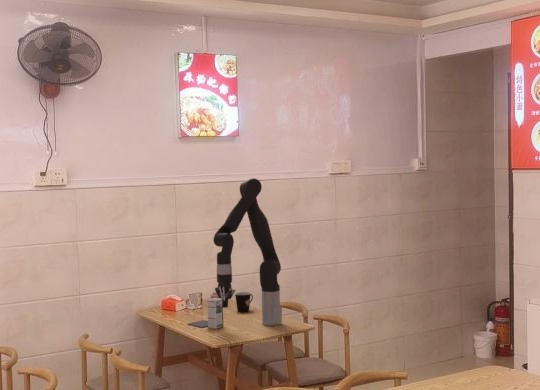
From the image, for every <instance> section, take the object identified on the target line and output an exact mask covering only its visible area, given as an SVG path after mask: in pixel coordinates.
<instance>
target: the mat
mask: <svg viewBox="0 0 540 390" xmlns="http://www.w3.org/2000/svg"><path fill="white" fill-rule="evenodd" d="M187 326H192V327H196V328H201V329H204V328H207V327H208V320H207V319H206V320H205V319H203V320H198V321H192V322H189V323H187ZM208 328H209V327H208Z"/></svg>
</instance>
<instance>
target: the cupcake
mask: <svg viewBox="0 0 540 390" xmlns="http://www.w3.org/2000/svg"><path fill="white" fill-rule="evenodd" d="M220 296H221V295H220ZM212 298H219V297H218V295H217V293H216V291H215V290H214V291H213V292H212V293H211V295H210V297H209V299H212Z"/></svg>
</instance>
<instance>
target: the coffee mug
mask: <svg viewBox="0 0 540 390" xmlns="http://www.w3.org/2000/svg"><path fill="white" fill-rule="evenodd" d="M234 294H235V295H234V296H235V303H236V309H237V312H238V313H242V314H243V313H249V312H250V307H251V306H250V304H251V302H252V301H253V299H254V297H253V294H251V292H248V291H247V292H246V291H245V292H244V291H243V292H241V291H240V292H236V293H234Z"/></svg>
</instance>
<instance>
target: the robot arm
mask: <svg viewBox="0 0 540 390" xmlns="http://www.w3.org/2000/svg"><path fill="white" fill-rule="evenodd" d="M262 188H263V187H262V182H261V181H260V180H259V179H257V178H248V179H247V180H244V181H242V182H241V183H240V185H239V193H240V196H241V197H240V199H239V200H238V202H237V203H236V204H235V206H234V207H233V208H232V209H231V211H230V212H229V213H228V216H227V217H226V220H225V221H224V224H222V225H221V226H220V227H219V229H218V230H217V231H216V232H215V234H214V236H213V244H214V245H215V246H217V247H221V251H219V252H217V254H216V283H217V287H215V288H214V292H215V291H216V293H217V295H218V297H219V298H221V300H222V306H223V309H224V308H225V309H226V308H228V307H229V300H230V299H232V298H233V295H234V294H235V292H236V289H233V287H232V282H233V266H232V253H233V249H234V243H235V241H234V240H235V239H234V236H233V233H235V232H236V231H237V230H238V228H239V226H240V224H241V222H242V221H243V218H244V217H245V215H246V214H247V217H248V221H249V225H250V229H251V233H252V236H253V238H254V241H255V242H256V244H257V245H258V247H259V249H260V251H261V255H262V259H263V261H262V262H261V263H260V266H259V284H260V286H261V314H262V316H261V317H262V321H261V322H262V325H263V326H269V327H270V326H271V327H275V326H278V325H282V323H283V316H282V314H283V313H282V312H283V311H282V310H283V309H282V305H281V296H280V295H281V294H280V293H281V289H280V287H281V285H280V284H279V283H278V275H279V274H280V272H281V269H282V266H281V262H280V260H279V257H278V254H277V251H276V249H275V248H276V247H275V245H274V241H273V237H272V232H271V228H270V225H269V224H270V223H269V220H268V218H267V216H266V215H265V214H264V212H263V211H262V210H261V209H262V208H260V205H259V204H258V199H257V197H258V195H260V193H261V192H262ZM220 295H221V296H220Z"/></svg>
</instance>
